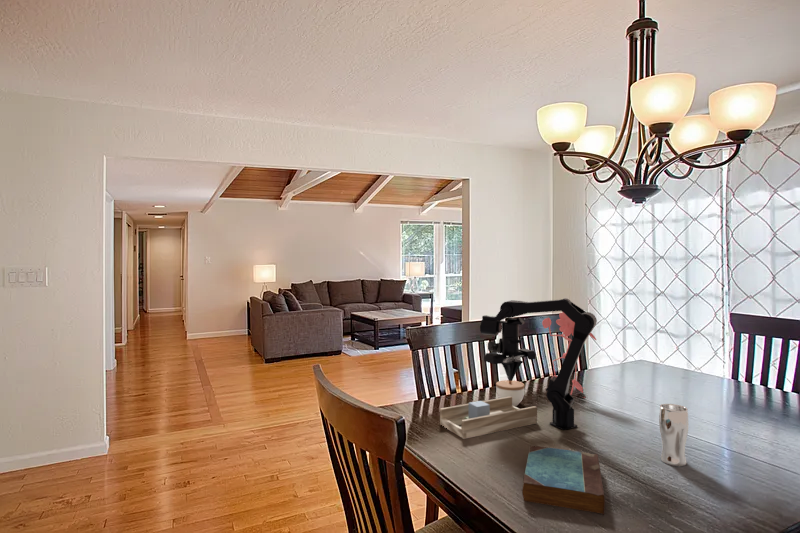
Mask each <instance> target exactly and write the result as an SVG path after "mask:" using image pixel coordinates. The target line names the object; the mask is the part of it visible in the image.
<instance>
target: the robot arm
mask: <svg viewBox="0 0 800 533" xmlns="http://www.w3.org/2000/svg"><path fill="white" fill-rule="evenodd" d="M548 312H551V313H552V312H561V313H562V312H564V313H565V314H566V315H567V316H568V317H569V318H570V319H571V320H572V321H573V322H574V323H575V325H574V331H573V335H572V339H571V340H572V341H570V342H571V343H570V346H569V349H568V351H567V350H566V352H567V354H566V356H565V359H564V358H563V359H564V360H563V362H562V364H561V367H560V370H559V372H558V373H557V374H558V375H556V376H557V378H556V377H555V376H554V375H552V376H553V377H552V376H551V377H550V379H549V382H548V386H547V387H546V389H545V392H546V398H547V401H549V403H551V406H552V421H551V422H549V425H552V426H553V427H556V428H558V429H560V430H563V431H565V430H570V429H574V428H578V425H577V424H575V409H574V408H573V405H574V403H575V402H576V400H575V397H573V395H570V394H571V393H570V392H569V391H570V390H569V389H570V385H571V384H570V383H571V382H570V381H571V378H572V374H573V372H574V371H575V370H574V369H575V368H576V365H577V361H578V359H579V357H580V355H581V352H582V349H583V347H584V345H585V342H586V340H587V339H588V338H589V336H590V335H589V334H590V333H592V331H593V330H594V328H595V327H596V325H597V322H598V319H597V317H596V316H595V314H594V313H592V312H589V311H586V310H584V309H583V308H581V307H580V306H578V305H576V304H575V303H574V302H573V301H571V300H570V299H568V298H562V299H561V298H560V299H552V300H551V299H550V300H541V301H540V300H537V301H523V300H508V301H504V302H502V303H501V305H500V308H499V312H498V313H497V314H496V315H495V316H493V315H492V316H491V315H482V319H481V321H480V325H479V331H480V334H482V335H488V336H489V335H490V336H499V334H500V333H501V338H499V340H498V342H497V343H496V342H495V341H488V342H487V350H488V351H489V352H486V353H485V355H484V362H486V363H490V364H493V365H499V364H500V365H502V367H503V369H504V371H505V374H506V378H507V380H509V381H514V378H515V375H516V374H517V371H518V370H519V368H520V366H521V365H522V364H523V363H524V361H523V360H521V358H527V359H528V360H529V361H530V360H536V359H537V358H536V352H535V351H534V350H532V349H528V348H520V349H519V347H520V345H519V344H522V340H521V339H520V338H519V335H520V334H519V331H520V330H519V326H520V325H521V326H522V325H524V324H525V321H524V320H523V319H522V318H521V316H523V315H526V314H536V313H548ZM515 317H517V318H515ZM505 319H506V320H505Z"/></svg>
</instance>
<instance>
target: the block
mask: <svg viewBox="0 0 800 533" xmlns="http://www.w3.org/2000/svg"><path fill="white" fill-rule="evenodd" d="M483 401H484V400H477V401H470V402H468V404H469V418H475V417H480V416H486V415H490V405H489V404H487V403H485V402H483Z"/></svg>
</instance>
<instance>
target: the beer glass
mask: <svg viewBox="0 0 800 533" xmlns="http://www.w3.org/2000/svg"><path fill="white" fill-rule="evenodd" d="M659 405H660V407H659V415H658V418H659V419H658V425H659V432H660V436H661V442H662V443H661V444H662V450H661V455H660V459H661V461H662V462H663V463H665V464H667V465H670V466H674V467H675V466H676V467H684V466H686V465H687V458H686V450H685V449H686V445H687V438H688V433H689V412H688V408H687V407H685V406H684V405H680V404H674V403H661V404H659Z"/></svg>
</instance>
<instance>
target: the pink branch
mask: <svg viewBox="0 0 800 533" xmlns="http://www.w3.org/2000/svg"><path fill="white" fill-rule="evenodd" d="M555 323H556V324H557V325H558V326H559V331H560V332H561V333H562V334H552V330H551V325H552V319H551V318H550V317H546V318H544V319H543V320H542V322H541V324H542V326H543V329H547V328H548V331H549V336H550V337H561V338H564V339H565V340H567V342H568V345H567V349H566V352H563V353H562V356H561V357H558V358H555V359H553V360H552V366H553V373H554V375H552V376H551V378H552V377H553V376H555V377H556V378H557V376H558V375H556V370H555V364H554V363H555V362H556V361H558V360H560V359H565V356H566V354H567V351H568V349H569V346H570V344H571V341H572V339H571V338H570V337H569V336H571V335H572V336H573V331H574V325H575V323H574V322H573V321H572V320H571V319H570V318H569V317H568V316H567V315H566V314H565V313H564V312H562V311H561V312H559V318H558V319H556V321H555ZM589 336H590V337H591V338H592V339H594V340H595V341H597V338H596V336H595V335H594V334H593V332H591V333H590V334H589ZM577 366H578V365H577V364H576V365H575V368H574V369H575V370H574V371H575V373H574V379H571V383H572V385H571V386H572V387H571V391H570V393H569V394H570V395H571V396H573V392H574V388H576V389H577V390H578V391H579V392H580V393H582V394H583V393H584V387H582V385H581V384H580V382H579V381H577ZM582 398H583V399H584V398H587V397H586V396H584V397H583V396H582Z"/></svg>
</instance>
